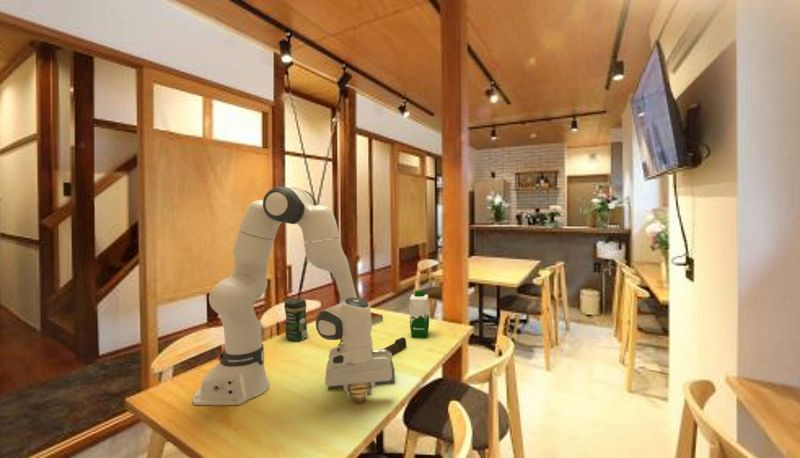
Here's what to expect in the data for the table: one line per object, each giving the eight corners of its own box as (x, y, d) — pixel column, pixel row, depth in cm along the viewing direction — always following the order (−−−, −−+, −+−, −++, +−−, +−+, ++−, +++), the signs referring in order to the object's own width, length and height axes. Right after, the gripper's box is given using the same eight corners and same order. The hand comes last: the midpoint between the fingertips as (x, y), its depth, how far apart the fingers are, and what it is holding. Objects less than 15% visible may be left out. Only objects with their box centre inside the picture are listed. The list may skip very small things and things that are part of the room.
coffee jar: (282, 339, 161) (280, 299, 160) (296, 333, 168) (294, 295, 166) (297, 343, 156) (295, 302, 154) (310, 337, 163) (309, 297, 161)
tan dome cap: (349, 408, 105) (348, 393, 104) (349, 396, 111) (348, 382, 111) (370, 405, 105) (370, 391, 105) (369, 394, 112) (369, 380, 111)
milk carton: (429, 331, 166) (429, 289, 164) (428, 339, 157) (427, 294, 155) (411, 331, 167) (410, 289, 165) (409, 338, 158) (408, 294, 156)
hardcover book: (354, 315, 196) (354, 307, 195) (382, 322, 183) (382, 314, 182) (338, 320, 186) (337, 313, 186) (366, 328, 173) (366, 320, 173)
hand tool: (379, 364, 133) (378, 352, 133) (371, 361, 136) (371, 349, 136) (411, 348, 148) (410, 337, 147) (403, 346, 150) (403, 335, 150)
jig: (328, 389, 116) (327, 372, 115) (330, 372, 128) (329, 356, 127) (394, 382, 119) (394, 366, 118) (390, 366, 131) (390, 351, 130)
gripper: (390, 345, 112) (391, 387, 113) (325, 350, 109) (326, 393, 110) (393, 353, 106) (394, 397, 106) (323, 359, 103) (325, 404, 104)
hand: (359, 395), depth 108 cm, fingers closed on tan dome cap, 5 cm apart
